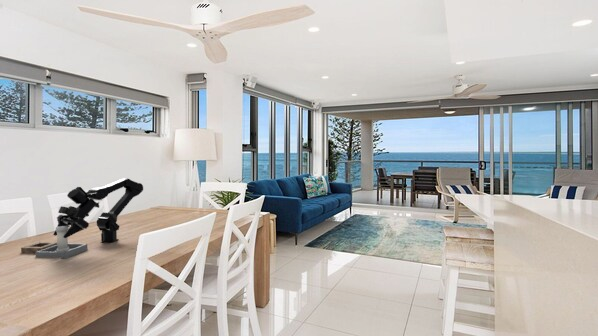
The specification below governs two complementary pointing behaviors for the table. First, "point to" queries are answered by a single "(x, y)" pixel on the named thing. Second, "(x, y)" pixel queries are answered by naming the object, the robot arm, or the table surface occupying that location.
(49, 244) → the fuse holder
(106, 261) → the table surface
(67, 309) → the table surface
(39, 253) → the parts tray
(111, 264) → the table surface
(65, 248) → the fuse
